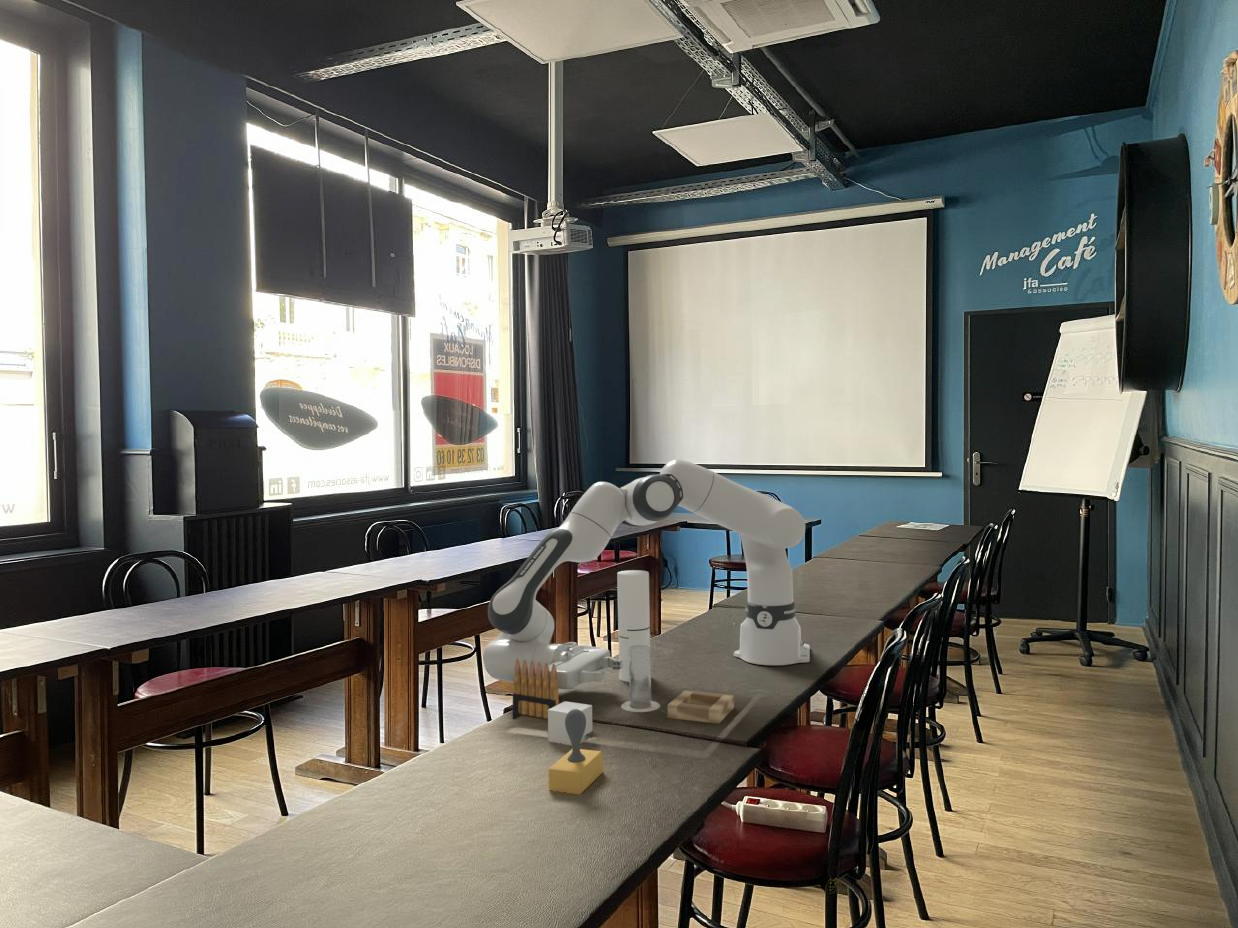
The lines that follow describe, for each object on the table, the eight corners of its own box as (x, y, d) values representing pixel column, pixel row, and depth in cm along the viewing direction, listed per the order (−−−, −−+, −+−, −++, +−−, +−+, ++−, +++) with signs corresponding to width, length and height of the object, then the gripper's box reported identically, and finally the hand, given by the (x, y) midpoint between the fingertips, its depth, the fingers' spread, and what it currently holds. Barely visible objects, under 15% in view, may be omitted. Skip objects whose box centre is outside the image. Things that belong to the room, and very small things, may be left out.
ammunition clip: (561, 723, 179) (560, 663, 178) (556, 726, 177) (555, 665, 176) (517, 715, 184) (516, 657, 184) (512, 718, 182) (510, 659, 182)
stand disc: (630, 702, 191) (630, 698, 191) (665, 706, 188) (665, 702, 188) (614, 714, 184) (614, 709, 184) (651, 718, 180) (651, 713, 180)
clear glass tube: (634, 701, 188) (633, 644, 188) (654, 703, 187) (653, 645, 186) (626, 707, 184) (625, 649, 184) (646, 709, 183) (645, 650, 182)
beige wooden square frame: (685, 707, 187) (684, 690, 187) (734, 712, 183) (733, 695, 183) (667, 722, 178) (667, 704, 178) (718, 728, 174) (718, 710, 174)
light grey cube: (575, 746, 166) (575, 714, 165) (548, 741, 168) (547, 709, 168) (592, 736, 171) (592, 704, 171) (565, 731, 174) (565, 700, 174)
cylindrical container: (647, 687, 202) (645, 575, 201) (616, 685, 204) (614, 574, 203) (653, 678, 209) (651, 570, 208) (622, 677, 211) (620, 570, 210)
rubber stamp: (581, 795, 144) (579, 720, 143) (548, 790, 146) (546, 716, 145) (604, 772, 153) (602, 701, 152) (572, 768, 155) (570, 699, 154)
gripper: (529, 662, 184) (591, 668, 178) (573, 639, 203) (631, 644, 197) (530, 693, 184) (591, 700, 179) (574, 667, 203) (631, 673, 197)
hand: (612, 670), depth 188 cm, fingers open, 8 cm apart
